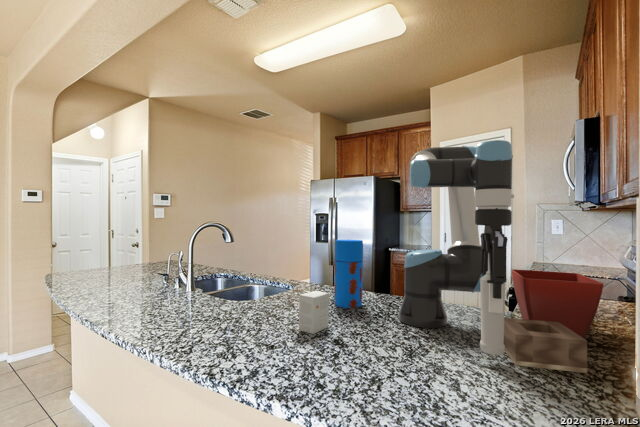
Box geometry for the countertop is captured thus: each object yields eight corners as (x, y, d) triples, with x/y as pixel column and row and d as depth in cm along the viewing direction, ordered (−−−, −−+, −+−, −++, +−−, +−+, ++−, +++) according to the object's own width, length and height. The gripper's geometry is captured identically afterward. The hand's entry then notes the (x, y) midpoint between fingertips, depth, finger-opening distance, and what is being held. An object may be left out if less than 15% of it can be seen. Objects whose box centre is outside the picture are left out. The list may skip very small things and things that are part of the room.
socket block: (515, 365, 76) (515, 334, 76) (498, 343, 89) (498, 317, 89) (587, 373, 72) (587, 340, 72) (558, 349, 86) (558, 322, 86)
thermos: (332, 301, 134) (333, 239, 134) (358, 300, 135) (359, 239, 135) (336, 308, 123) (337, 241, 123) (365, 307, 124) (365, 241, 125)
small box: (314, 323, 104) (314, 290, 104) (329, 327, 101) (329, 292, 101) (298, 330, 97) (298, 294, 98) (313, 334, 94) (313, 297, 94)
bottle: (508, 356, 73) (509, 244, 74) (483, 354, 74) (483, 243, 75) (500, 347, 78) (501, 242, 79) (477, 345, 79) (477, 241, 80)
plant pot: (605, 346, 89) (605, 282, 89) (523, 336, 95) (523, 277, 96) (578, 325, 106) (577, 272, 107) (510, 318, 113) (510, 269, 113)
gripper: (524, 207, 67) (524, 322, 67) (500, 209, 85) (499, 300, 84) (484, 207, 69) (483, 319, 69) (468, 209, 86) (467, 298, 86)
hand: (492, 308), depth 77 cm, fingers closed on bottle, 5 cm apart
